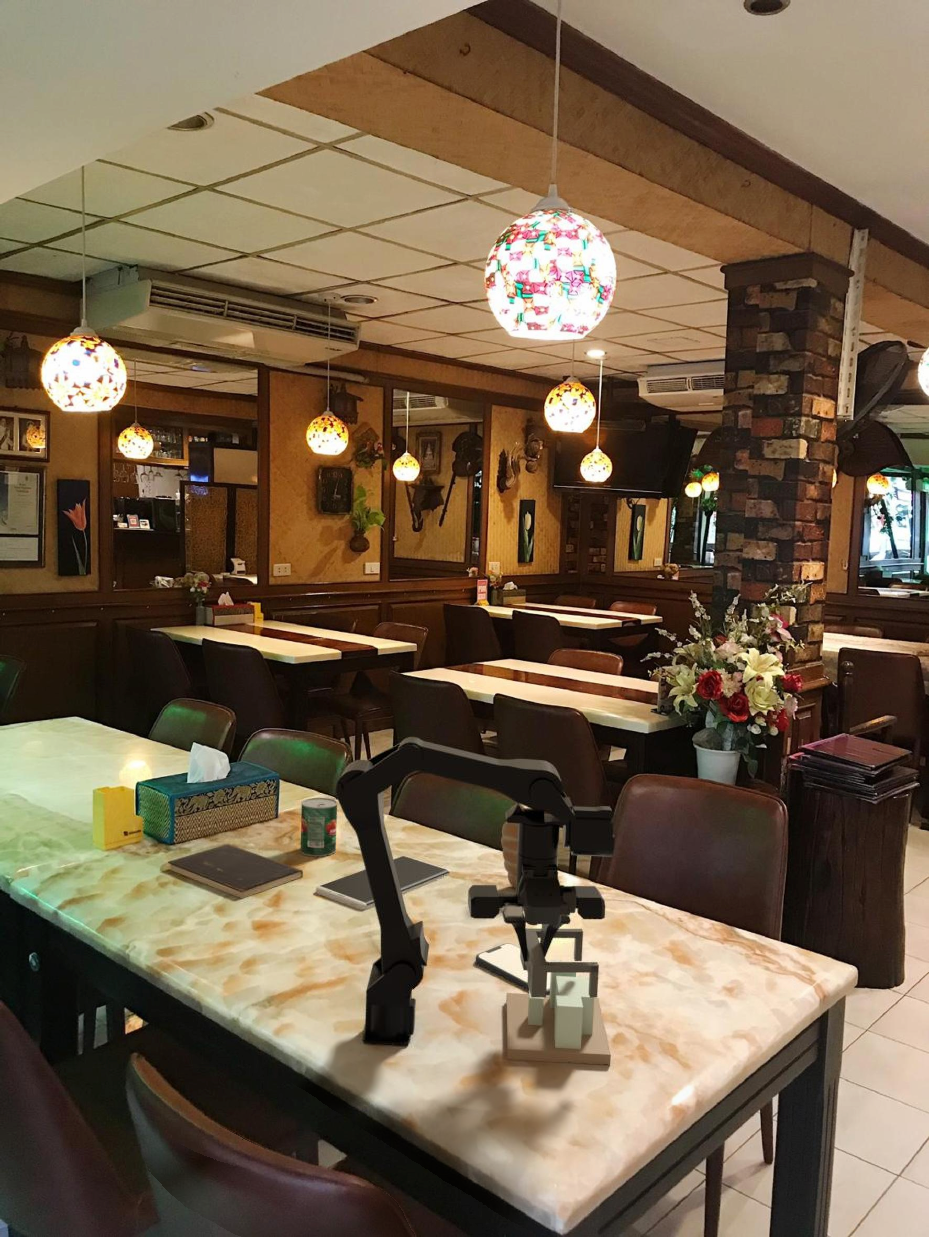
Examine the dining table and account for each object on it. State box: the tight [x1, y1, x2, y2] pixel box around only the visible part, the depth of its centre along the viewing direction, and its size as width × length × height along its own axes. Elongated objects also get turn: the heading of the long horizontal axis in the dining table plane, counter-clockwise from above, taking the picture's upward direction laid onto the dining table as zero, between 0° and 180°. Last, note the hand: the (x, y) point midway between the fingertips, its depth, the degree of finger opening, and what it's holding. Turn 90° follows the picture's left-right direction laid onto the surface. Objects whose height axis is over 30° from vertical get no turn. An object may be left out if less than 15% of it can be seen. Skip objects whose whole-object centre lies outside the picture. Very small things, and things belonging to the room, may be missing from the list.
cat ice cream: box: [500, 804, 529, 889], centre depth 193 cm, size 9×8×18 cm
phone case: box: [475, 942, 551, 995], centre depth 157 cm, size 9×2×16 cm
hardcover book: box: [167, 843, 304, 899], centre depth 196 cm, size 16×23×2 cm
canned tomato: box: [299, 797, 339, 858], centre depth 211 cm, size 8×8×11 cm
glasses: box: [520, 927, 600, 998], centre depth 135 cm, size 9×12×4 cm
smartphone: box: [315, 855, 451, 911], centre depth 194 cm, size 13×27×2 cm, turn 143°
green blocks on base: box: [505, 960, 612, 1066], centre depth 138 cm, size 14×16×8 cm
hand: (533, 960), depth 135 cm, fingers closed on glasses, 2 cm apart
